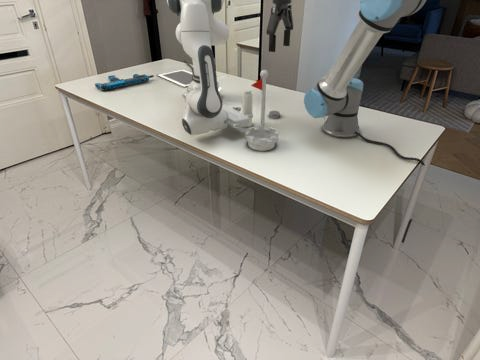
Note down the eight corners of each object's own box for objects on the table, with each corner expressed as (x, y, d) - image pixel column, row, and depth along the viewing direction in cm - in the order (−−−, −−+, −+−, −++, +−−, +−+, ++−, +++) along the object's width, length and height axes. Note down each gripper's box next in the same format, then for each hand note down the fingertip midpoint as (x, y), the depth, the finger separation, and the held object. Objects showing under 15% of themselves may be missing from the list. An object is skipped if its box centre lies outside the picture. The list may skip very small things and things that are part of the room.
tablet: (157, 75, 221) (157, 74, 221) (183, 69, 232) (183, 69, 232) (184, 87, 201) (183, 86, 200) (211, 80, 212) (211, 79, 211)
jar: (243, 122, 157) (243, 88, 148) (252, 123, 157) (253, 88, 148) (241, 126, 154) (241, 91, 145) (250, 127, 153) (251, 92, 144)
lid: (271, 119, 161) (271, 115, 160) (267, 115, 165) (267, 111, 164) (281, 117, 162) (281, 113, 161) (277, 114, 166) (277, 110, 165)
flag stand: (269, 135, 146) (272, 63, 129) (283, 148, 135) (289, 72, 119) (241, 140, 142) (241, 67, 125) (253, 154, 132) (254, 76, 115)
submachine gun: (139, 68, 225) (158, 74, 208) (140, 74, 226) (158, 80, 210) (87, 78, 206) (103, 86, 189) (89, 84, 208) (104, 92, 191)
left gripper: (231, 119, 136) (259, 112, 142) (207, 104, 150) (233, 98, 157) (232, 134, 139) (259, 126, 146) (208, 117, 154) (234, 111, 160)
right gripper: (287, -10, 145) (284, 42, 156) (258, -6, 127) (257, 53, 139) (303, -10, 141) (299, 44, 153) (276, -5, 124) (273, 55, 135)
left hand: (246, 111), depth 151 cm, fingers open, 8 cm apart
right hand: (279, 48), depth 146 cm, fingers open, 13 cm apart
